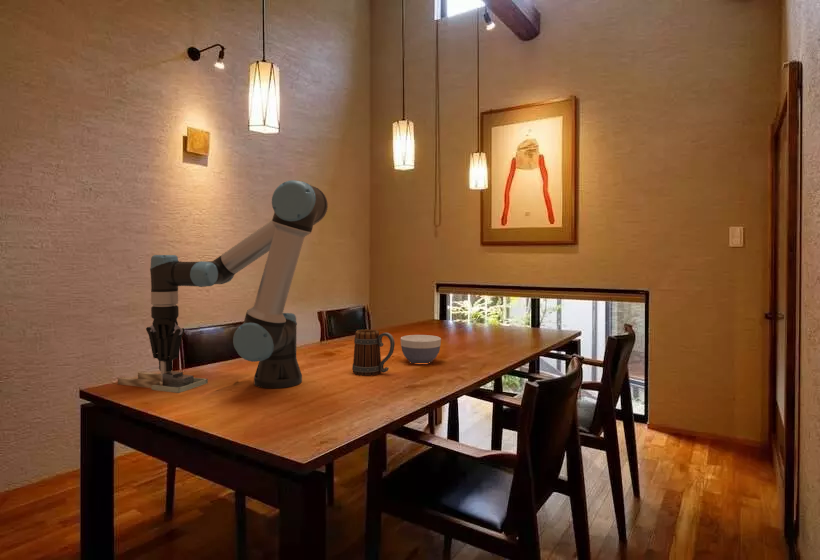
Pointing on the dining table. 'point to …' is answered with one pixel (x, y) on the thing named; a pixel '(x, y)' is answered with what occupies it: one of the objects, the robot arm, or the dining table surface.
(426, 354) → the bowl
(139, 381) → the slot board
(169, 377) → the chip
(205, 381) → the grey rectangular frame
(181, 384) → the chip
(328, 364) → the dining table surface
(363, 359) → the mug
